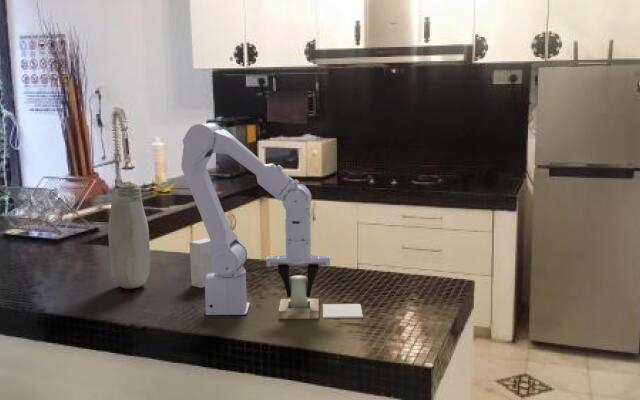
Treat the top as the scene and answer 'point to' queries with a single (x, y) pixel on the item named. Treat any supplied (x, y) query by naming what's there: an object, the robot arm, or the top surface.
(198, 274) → the skincare box
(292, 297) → the sage peg
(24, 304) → the top surface
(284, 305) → the pocket holder
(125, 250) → the pale grey-green bottle
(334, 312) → the pad
